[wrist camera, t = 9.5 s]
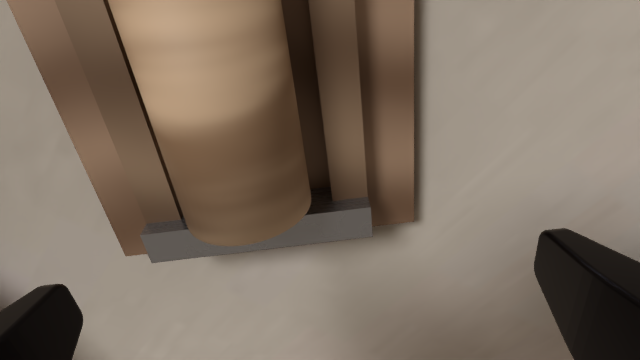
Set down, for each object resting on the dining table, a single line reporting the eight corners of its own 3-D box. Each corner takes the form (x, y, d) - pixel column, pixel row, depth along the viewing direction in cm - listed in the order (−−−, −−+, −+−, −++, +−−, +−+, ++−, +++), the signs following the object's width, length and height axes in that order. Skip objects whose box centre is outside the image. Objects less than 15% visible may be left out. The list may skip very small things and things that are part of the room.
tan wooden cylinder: (308, 168, 18) (314, 235, 14) (200, 182, 18) (172, 254, 14) (272, -73, 13) (264, -81, 9) (127, -53, 13) (52, -53, 9)
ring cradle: (409, 209, 20) (425, 248, 18) (133, 243, 21) (108, 286, 18) (406, -227, 12) (434, -273, 10) (-47, -163, 13) (-138, -191, 10)
